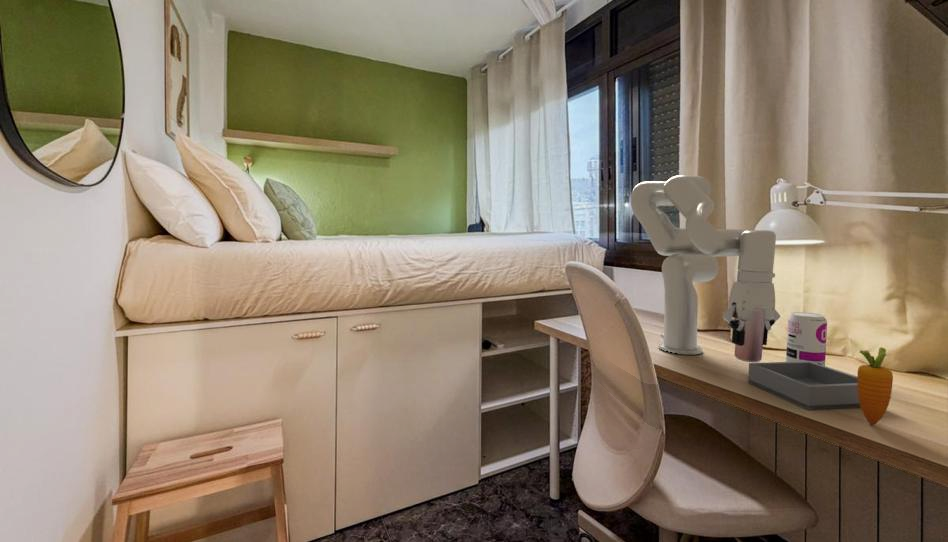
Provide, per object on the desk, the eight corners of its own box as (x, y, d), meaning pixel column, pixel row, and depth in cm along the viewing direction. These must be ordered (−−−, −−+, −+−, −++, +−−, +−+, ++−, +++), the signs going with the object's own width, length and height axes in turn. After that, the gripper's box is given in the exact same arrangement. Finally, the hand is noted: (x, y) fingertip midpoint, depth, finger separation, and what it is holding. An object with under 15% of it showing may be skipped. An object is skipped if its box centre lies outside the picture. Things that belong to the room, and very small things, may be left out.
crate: (748, 382, 96) (749, 363, 95) (808, 380, 97) (809, 361, 97) (808, 410, 80) (809, 387, 80) (879, 407, 81) (880, 384, 81)
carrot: (861, 428, 72) (866, 349, 71) (848, 417, 77) (852, 343, 76) (897, 433, 70) (902, 352, 69) (881, 421, 75) (886, 345, 74)
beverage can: (733, 354, 107) (737, 301, 106) (759, 357, 104) (764, 303, 103) (735, 360, 102) (739, 305, 101) (762, 364, 99) (767, 307, 97)
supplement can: (830, 369, 105) (833, 315, 104) (815, 374, 101) (818, 318, 100) (795, 361, 112) (797, 311, 111) (779, 366, 108) (782, 313, 107)
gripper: (773, 275, 105) (767, 339, 107) (713, 276, 104) (708, 340, 106) (798, 278, 98) (791, 347, 100) (733, 279, 96) (728, 349, 98)
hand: (749, 343), depth 103 cm, fingers closed on beverage can, 5 cm apart
